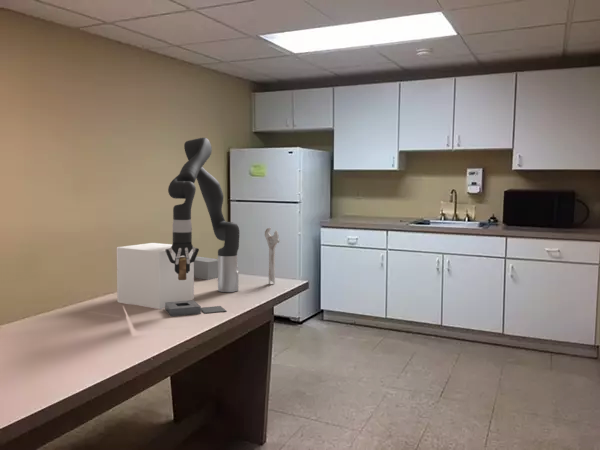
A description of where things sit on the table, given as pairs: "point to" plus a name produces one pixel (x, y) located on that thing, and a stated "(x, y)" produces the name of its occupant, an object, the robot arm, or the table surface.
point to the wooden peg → (182, 268)
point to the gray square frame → (182, 308)
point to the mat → (212, 309)
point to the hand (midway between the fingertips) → (182, 272)
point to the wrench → (271, 252)
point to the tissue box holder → (206, 268)
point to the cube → (151, 276)
